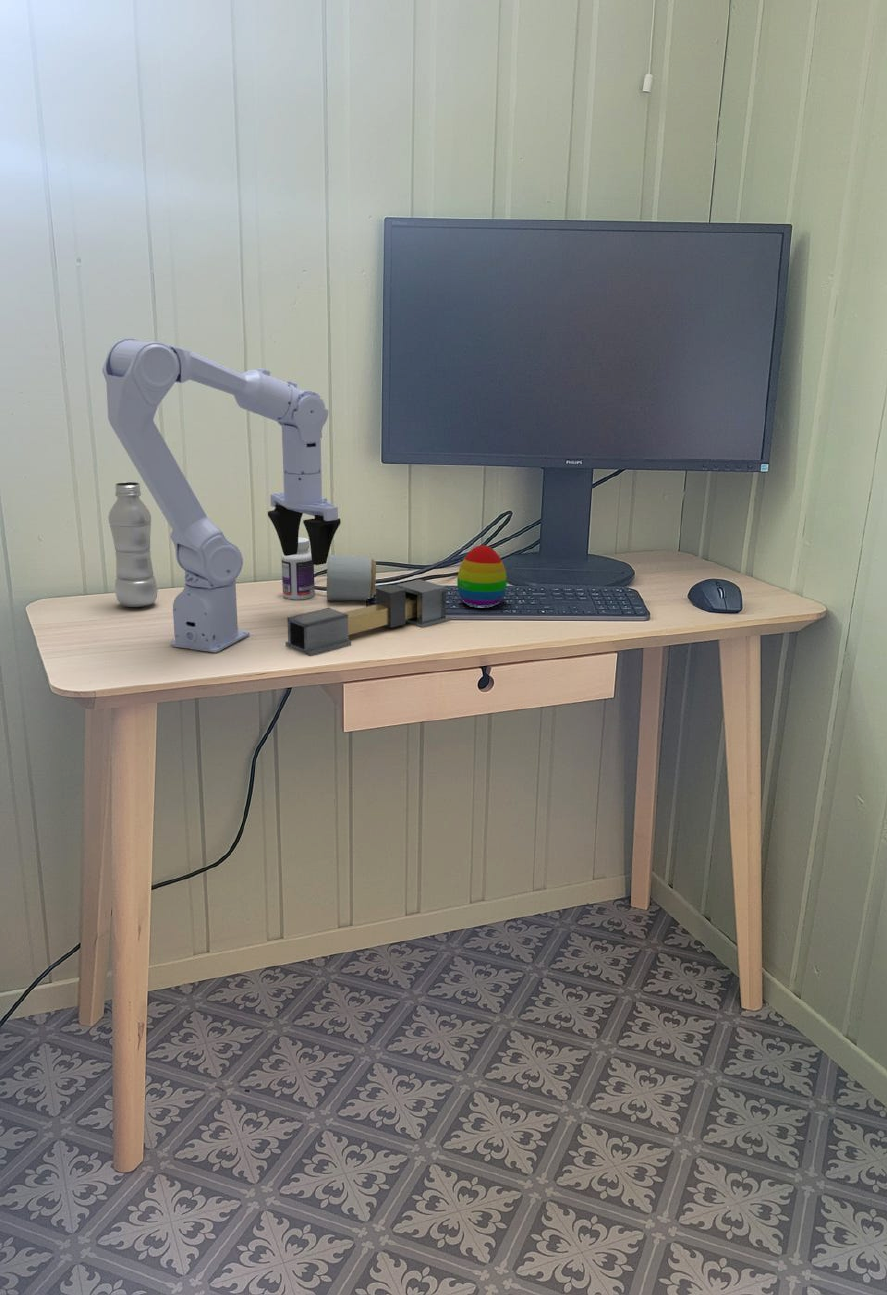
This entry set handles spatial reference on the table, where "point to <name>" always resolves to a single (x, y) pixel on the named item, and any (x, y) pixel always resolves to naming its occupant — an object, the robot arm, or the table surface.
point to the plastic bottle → (132, 547)
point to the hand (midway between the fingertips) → (304, 559)
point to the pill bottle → (298, 573)
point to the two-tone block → (383, 610)
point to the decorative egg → (482, 577)
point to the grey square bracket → (426, 602)
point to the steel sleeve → (318, 631)
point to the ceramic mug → (350, 578)
